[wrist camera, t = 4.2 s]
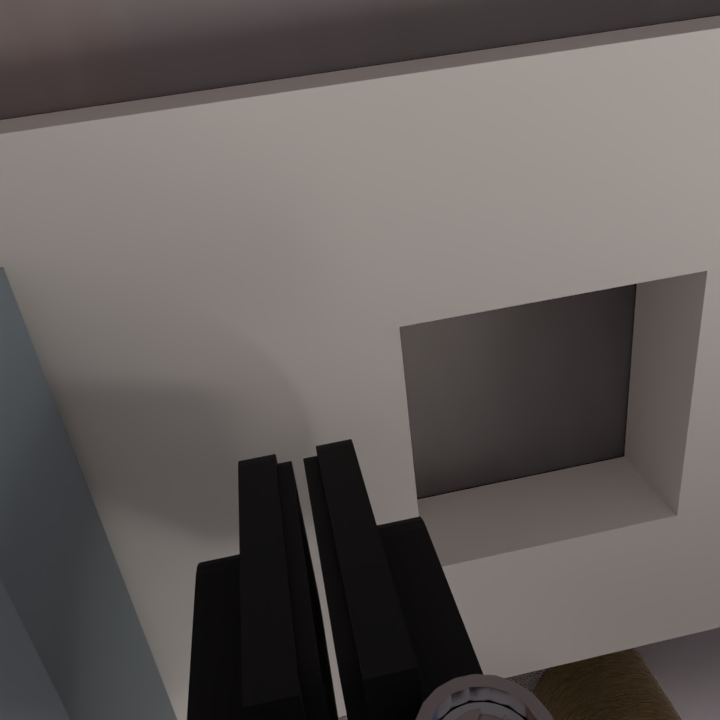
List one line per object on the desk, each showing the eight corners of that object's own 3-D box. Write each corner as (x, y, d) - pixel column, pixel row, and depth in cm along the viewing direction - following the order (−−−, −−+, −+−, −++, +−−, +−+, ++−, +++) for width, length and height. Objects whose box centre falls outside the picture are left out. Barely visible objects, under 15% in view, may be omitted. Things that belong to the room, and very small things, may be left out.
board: (798, 4, 11) (912, 0, 9) (711, 552, 17) (771, 619, 15) (-889, 249, 9) (-1187, 309, 7) (-341, 789, 14) (-426, 902, 13)
